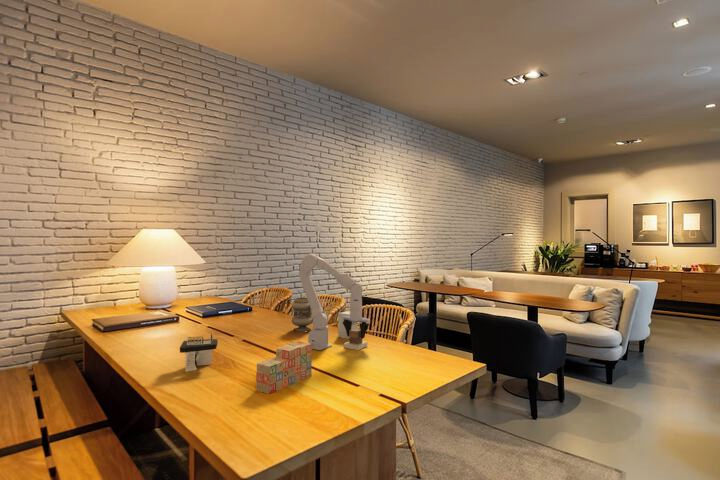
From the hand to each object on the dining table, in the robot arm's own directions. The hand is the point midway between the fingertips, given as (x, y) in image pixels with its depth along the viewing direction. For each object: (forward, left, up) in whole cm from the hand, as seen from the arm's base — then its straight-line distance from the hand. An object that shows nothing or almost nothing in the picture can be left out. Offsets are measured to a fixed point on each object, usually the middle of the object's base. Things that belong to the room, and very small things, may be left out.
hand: (355, 337), depth 187 cm
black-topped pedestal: (-59, +35, -5) cm, 69 cm away
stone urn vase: (+12, +43, -5) cm, 45 cm away
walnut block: (0, 0, -3) cm, 3 cm away
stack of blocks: (-53, -4, -5) cm, 53 cm away
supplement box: (+14, +14, -5) cm, 20 cm away
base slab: (0, 0, -5) cm, 5 cm away
